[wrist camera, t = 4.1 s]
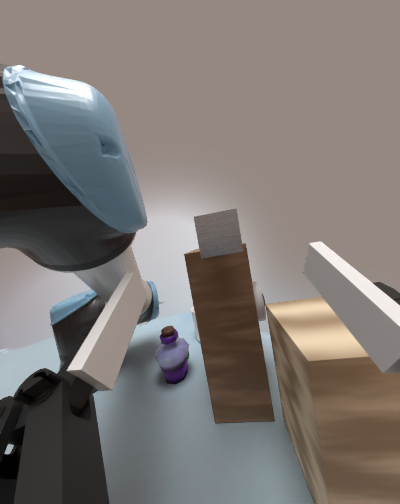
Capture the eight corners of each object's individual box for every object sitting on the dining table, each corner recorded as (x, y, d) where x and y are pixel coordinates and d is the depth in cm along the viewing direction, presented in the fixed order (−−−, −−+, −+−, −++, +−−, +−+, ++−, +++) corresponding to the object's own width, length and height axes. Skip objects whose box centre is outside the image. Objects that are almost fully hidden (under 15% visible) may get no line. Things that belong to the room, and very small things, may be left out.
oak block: (284, 420, 26) (265, 303, 25) (343, 418, 25) (326, 296, 24) (339, 571, 14) (308, 361, 13) (456, 579, 13) (433, 351, 12)
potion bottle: (200, 368, 40) (192, 323, 40) (174, 397, 34) (164, 343, 33) (177, 357, 46) (170, 317, 45) (152, 380, 39) (142, 334, 39)
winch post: (216, 361, 41) (195, 249, 40) (268, 357, 40) (249, 240, 38) (215, 423, 28) (184, 254, 26) (294, 420, 26) (266, 239, 24)
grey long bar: (248, 250, 13) (240, 196, 13) (195, 259, 13) (186, 207, 13) (224, 244, 39) (221, 226, 38) (206, 247, 39) (203, 230, 39)
